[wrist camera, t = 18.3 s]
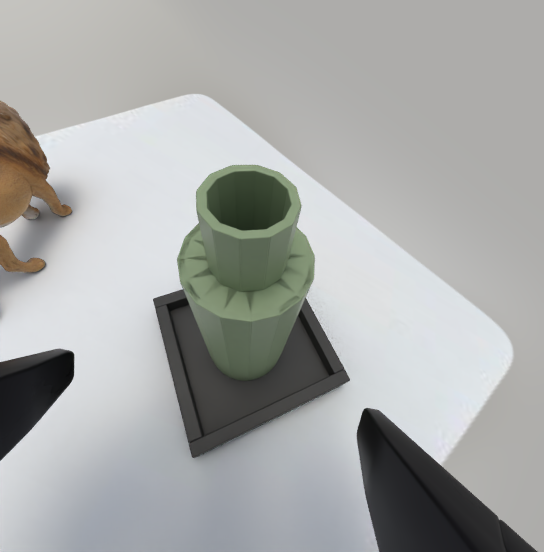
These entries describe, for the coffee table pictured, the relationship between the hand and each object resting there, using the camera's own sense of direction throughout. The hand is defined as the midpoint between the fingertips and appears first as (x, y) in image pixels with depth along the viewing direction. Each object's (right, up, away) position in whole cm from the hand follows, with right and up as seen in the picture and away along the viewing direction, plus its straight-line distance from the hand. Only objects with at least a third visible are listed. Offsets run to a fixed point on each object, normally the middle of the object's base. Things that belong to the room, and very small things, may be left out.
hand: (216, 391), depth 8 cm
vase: (0, -1, +12) cm, 12 cm away
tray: (0, -2, +12) cm, 12 cm away
